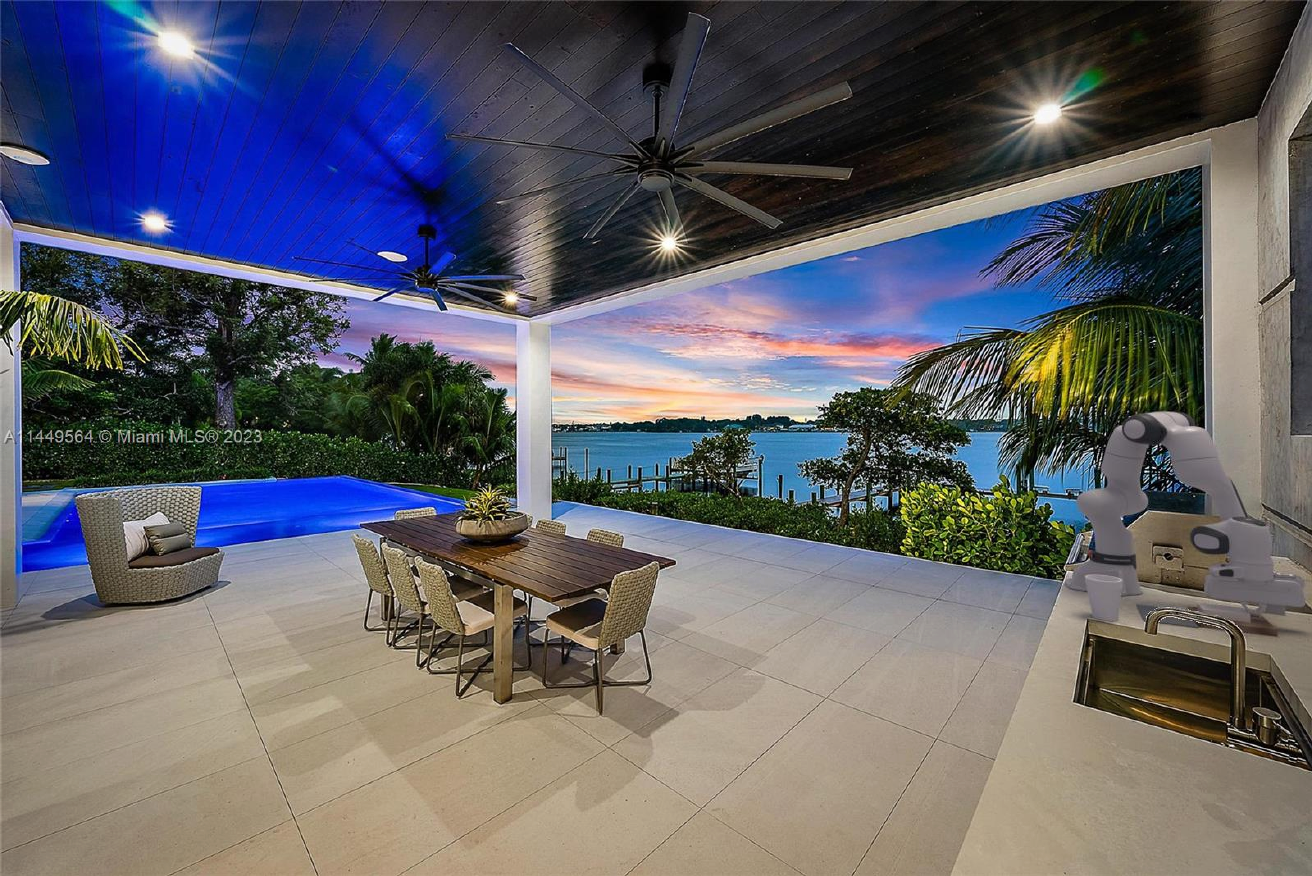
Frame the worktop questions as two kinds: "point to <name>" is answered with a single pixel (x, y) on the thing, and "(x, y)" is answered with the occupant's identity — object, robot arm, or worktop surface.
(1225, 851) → the worktop surface
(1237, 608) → the tile
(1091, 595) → the foam cup
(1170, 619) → the mat
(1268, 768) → the worktop surface
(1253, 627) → the plate
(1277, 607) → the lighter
